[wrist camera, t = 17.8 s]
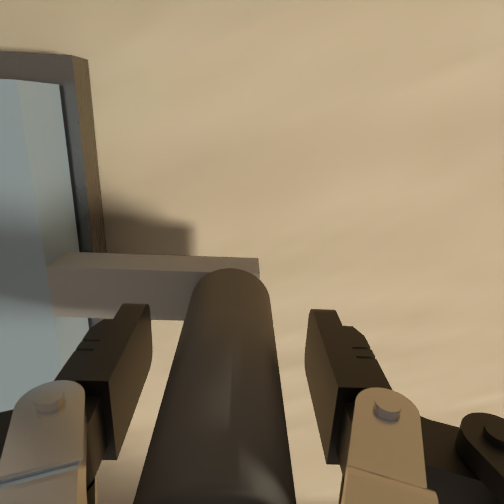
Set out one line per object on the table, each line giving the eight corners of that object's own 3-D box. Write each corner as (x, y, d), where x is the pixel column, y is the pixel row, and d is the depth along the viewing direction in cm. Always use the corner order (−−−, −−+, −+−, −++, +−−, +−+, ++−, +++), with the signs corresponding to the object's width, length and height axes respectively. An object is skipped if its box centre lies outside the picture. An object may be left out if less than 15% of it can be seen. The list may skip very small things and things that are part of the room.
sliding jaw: (275, 95, 14) (365, 63, 4) (257, 397, 19) (273, 755, 9) (-26, 80, 14) (-882, 0, 3) (35, 393, 19) (-233, 759, 8)
